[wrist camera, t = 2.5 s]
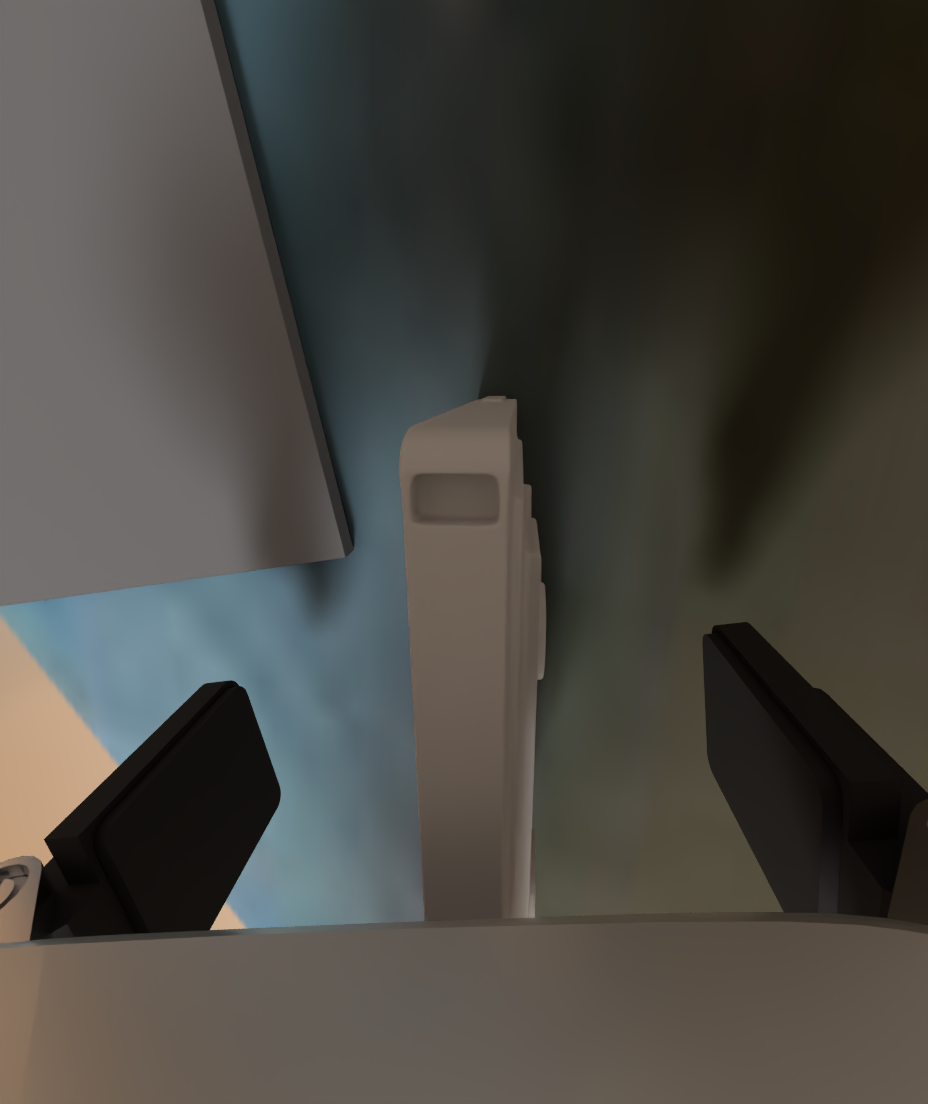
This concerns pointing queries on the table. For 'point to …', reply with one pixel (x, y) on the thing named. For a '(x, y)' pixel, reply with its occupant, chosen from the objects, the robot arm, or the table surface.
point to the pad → (143, 315)
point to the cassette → (473, 658)
